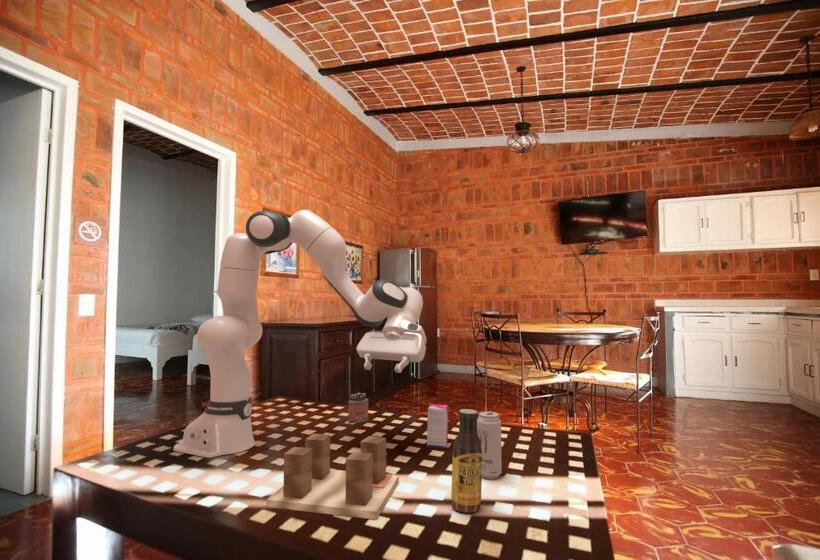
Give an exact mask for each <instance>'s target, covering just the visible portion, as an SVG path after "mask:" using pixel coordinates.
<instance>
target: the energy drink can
mask: <svg viewBox="0 0 820 560" xmlns="http://www.w3.org/2000/svg"><path fill="white" fill-rule="evenodd" d="M477 434H478V437H479V439H480V441H481V448H482V479H485V478H486V479H485V480H496V479H495V478H497V479H499V478H498V477H500V476H501V474H502V473H503V472H502V469H503V468H502V421H501V419H500V416H499V412H498V413H497V412H493V411H480V412H478V419H477ZM487 478H488V479H487Z"/></svg>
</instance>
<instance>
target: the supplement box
mask: <svg viewBox="0 0 820 560" xmlns="http://www.w3.org/2000/svg"><path fill="white" fill-rule="evenodd" d="M426 429H427V430H426V437H427V438H426V441H427V442H426V447H427V448H437V449H446V447H447V445H448V439H449V437H448V436H449V435H448V434H449V405H447V404H435V403H434V404H433V403H431V404H429V406H428V408H427V428H426Z"/></svg>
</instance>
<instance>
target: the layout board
mask: <svg viewBox="0 0 820 560" xmlns="http://www.w3.org/2000/svg"><path fill="white" fill-rule="evenodd" d="M304 439H305V442H304V444H305V447H300V446H299V447H298V446H297V447H296V446H292V448H290V449H288V451H286V452H284V453H283V486H281V487H280V488H279V489H278V490H276V491H275V492H274V493H273V494H272V495H270V496H269V497H268V498H267V499H266V508H275V509H283V510H290V511H291V510H292V511H299V512H307V513H317V514H325V515H334V516H341V517H342V516H343V517H348V518H349V517H350V518H359V519H368V520H378V518H379V516H380V515H381V513H382V511H383V510H384V507H385V506H386V505H387V503H388V501H389V499H390V498H391V496H392V494H393V492H394V491H395V489H396V487H397V486H398V484H399V481H400V480H399V479H400V478H399V477H400V476H399V475H393V474H389V473H388V474H387V473H386V478H384V479H383V480H382V481H381V482H380V483H379V484H373V453H362V452H361V451H353V452H351V454H349V455H348V456H347V458H345V470H340V469H331V434H324V433H312V434H311V435H309V436H307V438H304Z"/></svg>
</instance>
